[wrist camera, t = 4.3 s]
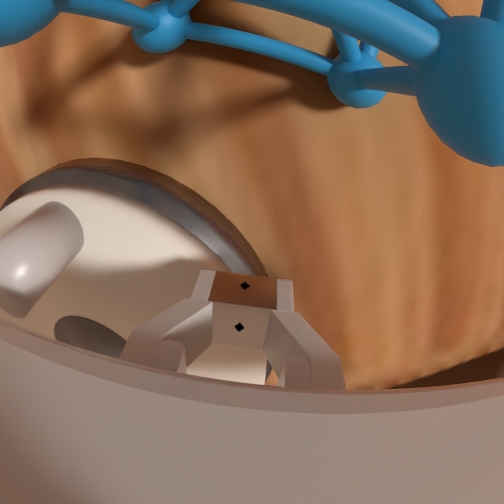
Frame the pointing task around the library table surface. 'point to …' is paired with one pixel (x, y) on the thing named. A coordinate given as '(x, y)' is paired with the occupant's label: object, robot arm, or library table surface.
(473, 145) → the molecular structure
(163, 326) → the robot arm
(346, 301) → the library table surface
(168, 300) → the turntable
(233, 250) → the turntable base
